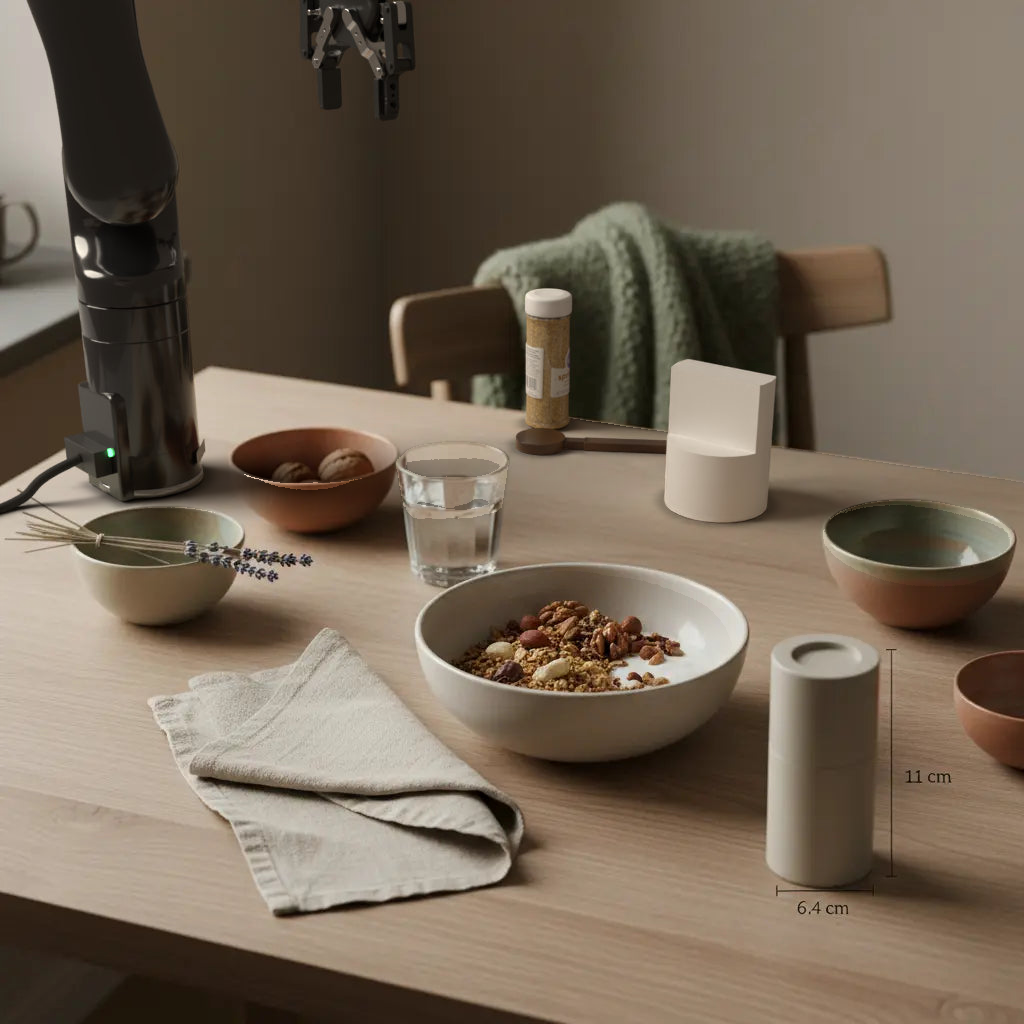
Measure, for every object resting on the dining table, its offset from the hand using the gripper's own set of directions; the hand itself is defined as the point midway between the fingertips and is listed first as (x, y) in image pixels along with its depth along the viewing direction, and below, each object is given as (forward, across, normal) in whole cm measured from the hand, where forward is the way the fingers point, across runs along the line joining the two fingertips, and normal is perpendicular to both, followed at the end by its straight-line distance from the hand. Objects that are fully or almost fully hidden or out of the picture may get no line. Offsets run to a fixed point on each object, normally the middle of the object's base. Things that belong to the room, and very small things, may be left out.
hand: (358, 114), depth 141 cm
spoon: (+30, +22, +12) cm, 39 cm away
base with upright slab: (+30, +38, +9) cm, 49 cm away
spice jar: (+30, +13, +12) cm, 35 cm away
